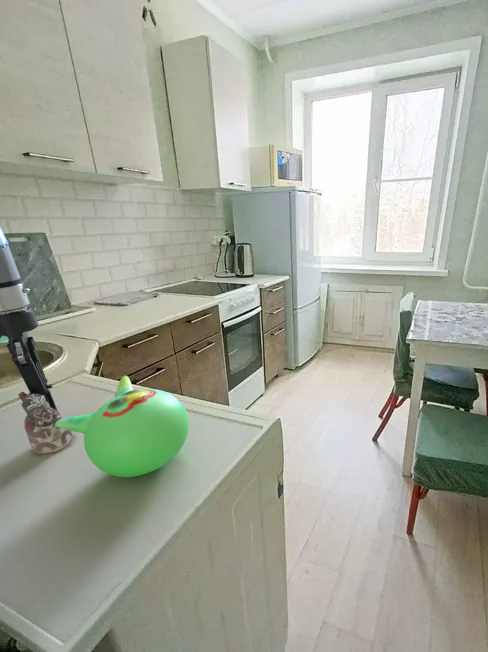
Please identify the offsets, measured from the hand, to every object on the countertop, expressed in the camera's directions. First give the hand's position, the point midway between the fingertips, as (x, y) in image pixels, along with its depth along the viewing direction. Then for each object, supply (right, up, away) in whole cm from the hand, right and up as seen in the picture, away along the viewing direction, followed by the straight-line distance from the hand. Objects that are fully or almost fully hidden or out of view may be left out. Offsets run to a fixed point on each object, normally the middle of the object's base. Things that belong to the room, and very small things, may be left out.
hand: (52, 419), depth 75 cm
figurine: (+1, -5, -2) cm, 5 cm away
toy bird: (+23, -7, -8) cm, 26 cm away
